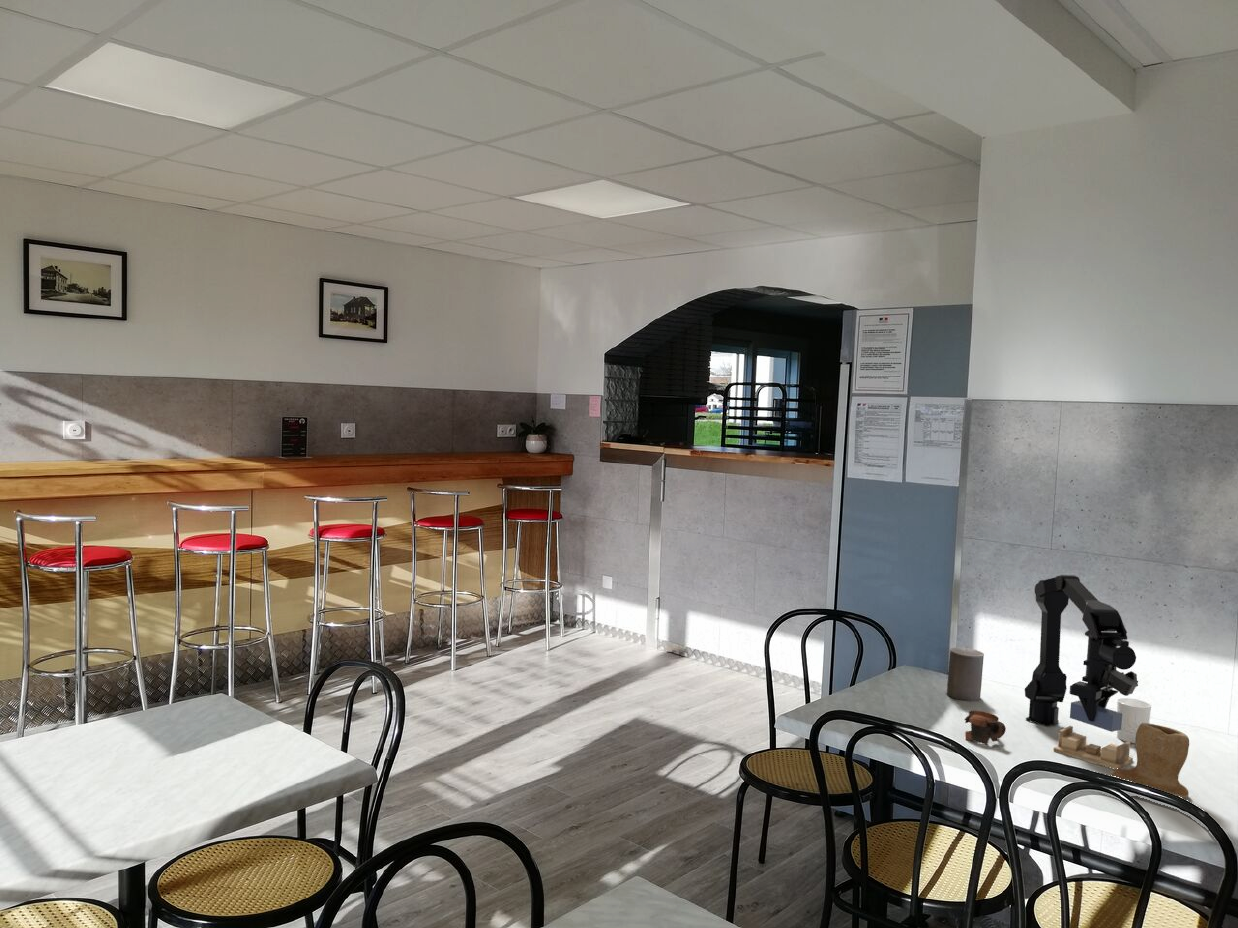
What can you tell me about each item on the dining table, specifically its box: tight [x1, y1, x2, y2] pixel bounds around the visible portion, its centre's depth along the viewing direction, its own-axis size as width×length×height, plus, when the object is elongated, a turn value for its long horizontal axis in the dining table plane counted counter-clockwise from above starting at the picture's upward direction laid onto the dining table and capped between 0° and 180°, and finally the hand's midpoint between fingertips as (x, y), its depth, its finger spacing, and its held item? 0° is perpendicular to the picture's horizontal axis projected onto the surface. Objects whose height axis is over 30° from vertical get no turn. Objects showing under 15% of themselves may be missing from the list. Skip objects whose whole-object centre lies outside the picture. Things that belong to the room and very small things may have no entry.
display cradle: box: [1053, 725, 1134, 770], centre depth 231 cm, size 10×15×5 cm, turn 41°
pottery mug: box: [964, 710, 1006, 745], centre depth 240 cm, size 12×10×8 cm
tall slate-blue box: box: [1069, 700, 1122, 733], centre depth 231 cm, size 11×4×4 cm, turn 31°
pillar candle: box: [945, 646, 985, 702], centre depth 277 cm, size 10×10×15 cm
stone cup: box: [1110, 722, 1190, 799], centre depth 211 cm, size 15×12×15 cm
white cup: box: [1116, 697, 1152, 745], centre depth 245 cm, size 8×8×10 cm
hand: (1095, 719), depth 231 cm, fingers closed on tall slate-blue box, 4 cm apart
